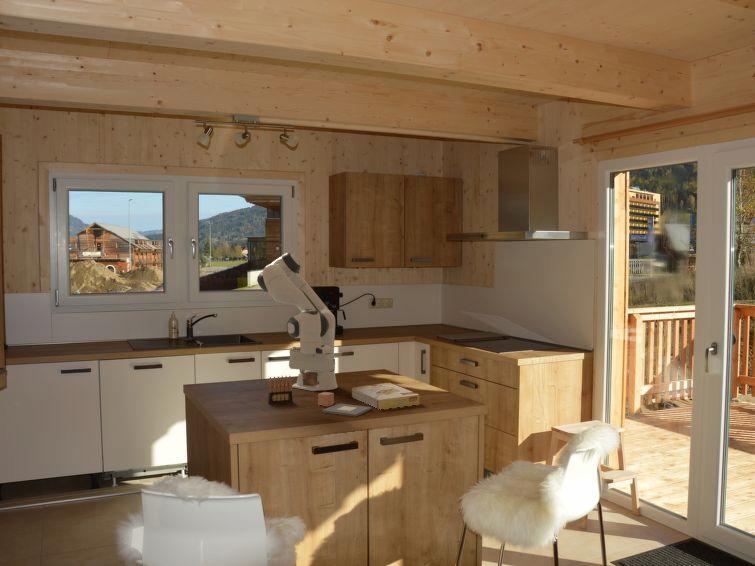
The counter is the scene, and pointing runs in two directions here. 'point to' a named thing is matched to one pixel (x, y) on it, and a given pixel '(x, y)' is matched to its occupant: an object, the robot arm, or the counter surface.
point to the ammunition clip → (280, 391)
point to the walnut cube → (310, 379)
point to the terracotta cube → (326, 399)
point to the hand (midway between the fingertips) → (311, 380)
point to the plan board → (346, 410)
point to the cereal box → (385, 396)
